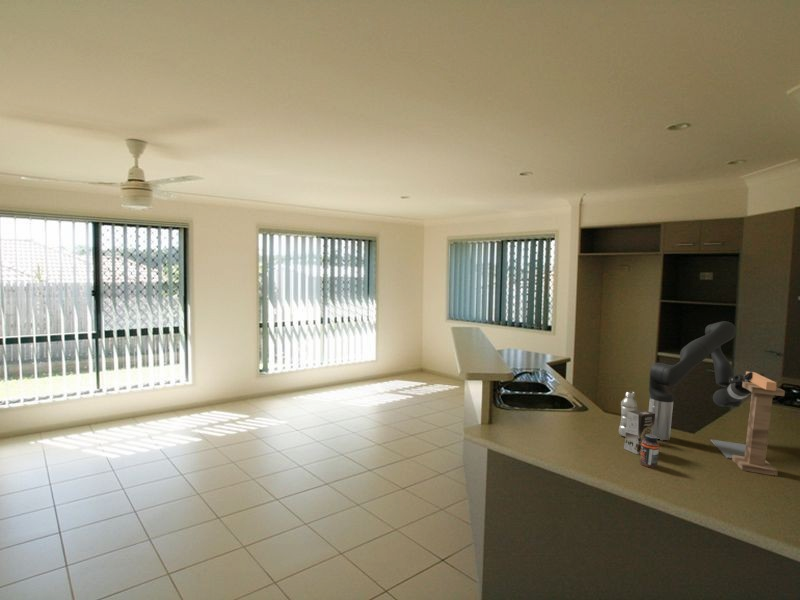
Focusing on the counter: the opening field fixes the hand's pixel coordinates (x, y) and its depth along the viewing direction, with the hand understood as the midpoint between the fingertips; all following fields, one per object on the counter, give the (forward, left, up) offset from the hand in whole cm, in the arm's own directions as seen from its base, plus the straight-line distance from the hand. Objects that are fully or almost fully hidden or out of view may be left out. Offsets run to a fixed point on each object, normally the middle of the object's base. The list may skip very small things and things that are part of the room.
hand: (756, 375), depth 183 cm
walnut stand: (-3, -6, -35) cm, 36 cm away
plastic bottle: (-36, +25, -35) cm, 56 cm away
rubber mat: (+4, +9, -35) cm, 36 cm away
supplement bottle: (-46, -5, -35) cm, 58 cm away
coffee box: (-41, +9, -35) cm, 55 cm away
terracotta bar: (-2, -3, -3) cm, 5 cm away
